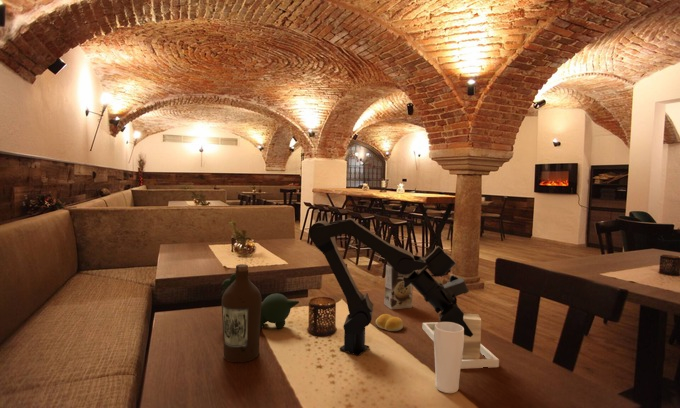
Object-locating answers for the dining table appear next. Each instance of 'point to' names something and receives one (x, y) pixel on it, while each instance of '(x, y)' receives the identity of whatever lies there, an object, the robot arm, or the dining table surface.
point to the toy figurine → (270, 306)
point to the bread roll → (389, 322)
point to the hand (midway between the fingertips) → (468, 329)
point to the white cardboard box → (397, 290)
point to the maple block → (472, 337)
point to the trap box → (470, 363)
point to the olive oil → (241, 318)
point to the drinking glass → (448, 355)
